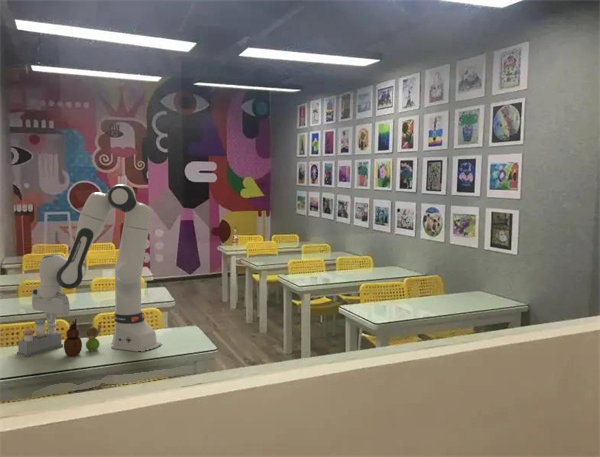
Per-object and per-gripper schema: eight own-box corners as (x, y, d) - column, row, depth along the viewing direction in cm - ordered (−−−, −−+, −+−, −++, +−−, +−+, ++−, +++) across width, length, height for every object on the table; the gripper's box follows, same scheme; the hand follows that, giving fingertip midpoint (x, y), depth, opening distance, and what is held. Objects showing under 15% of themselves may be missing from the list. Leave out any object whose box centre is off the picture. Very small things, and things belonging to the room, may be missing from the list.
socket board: (63, 346, 226) (62, 333, 226) (27, 357, 211) (27, 342, 211) (52, 344, 229) (52, 330, 229) (16, 354, 215) (16, 340, 214)
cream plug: (58, 340, 226) (58, 322, 225) (50, 342, 222) (50, 324, 222) (52, 339, 228) (52, 321, 227) (44, 341, 224) (44, 323, 224)
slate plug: (47, 338, 221) (47, 320, 220) (39, 340, 217) (38, 322, 217) (41, 337, 223) (41, 318, 222) (33, 339, 219) (32, 320, 219)
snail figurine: (103, 350, 222) (103, 322, 222) (89, 353, 218) (88, 325, 217) (98, 347, 226) (98, 320, 225) (83, 350, 222) (83, 322, 221)
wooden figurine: (77, 351, 219) (76, 317, 218) (84, 354, 216) (83, 319, 215) (61, 355, 214) (61, 320, 213) (68, 358, 211) (67, 322, 209)
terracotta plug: (36, 349, 216) (35, 330, 216) (27, 351, 213) (26, 332, 212) (29, 347, 218) (29, 329, 217) (21, 350, 215) (20, 331, 214)
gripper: (73, 293, 222) (73, 324, 223) (42, 287, 231) (42, 318, 232) (60, 295, 216) (60, 327, 217) (29, 289, 225) (29, 320, 226)
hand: (51, 322), depth 224 cm, fingers closed
